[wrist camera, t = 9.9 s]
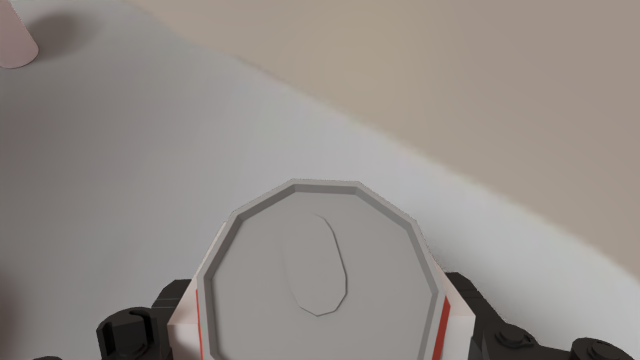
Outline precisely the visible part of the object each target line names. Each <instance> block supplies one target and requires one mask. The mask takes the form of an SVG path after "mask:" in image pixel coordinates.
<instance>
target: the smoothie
mask: <svg viewBox="0 0 640 360" xmlns="http://www.w3.org/2000/svg"><path fill="white" fill-rule="evenodd" d="M38 52H39V48H38V46H37V44H36V43H35V41H34V40H33V38H32V37H31V35H30V33H29V32H28V30H27V29H26V27H25V26H24V24H23V22H22V21H21V19H20V18H19V16H18V15H17V13H16V11H15V10H14V8H13V7H12V5H11V4H10V2H9V1H8V0H0V67H3V68H17V67H21V66H24V65H26V64H28V63H30V62H31V61H32V60H33V59H35V57H36V56H37V55H38Z"/></svg>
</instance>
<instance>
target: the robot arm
mask: <svg viewBox="0 0 640 360" xmlns="http://www.w3.org/2000/svg"><path fill="white" fill-rule="evenodd" d="M226 223H227V222H224V223H223V225H222V227H221V228H220V230H219V232H218V234H217V236H216V237H215V239H214V241H213V243H212V245H211V246H210V248H209V250H208V252H207V254H206V255H205V257H204V259H203V261H202V263H201V264H200V266H199V268H198V270H197V272H196V273H195V275H194V277H193V279H184V280H174V281H173V282H172V283H170V284H169V285H167V286H166V287H165V288H163V290H162V291H161V293H160V294H159V296H158V297H157V300H155V302H154V303H153V305H152V306H151V309H150V308H146V307H134V308H128V309H125V310H121V311H119V312H117V313H115V314H113V315H111V316H109V317H108V318H106V319H105V320H104V321H103V322H101V323H100V325H99V326H98V328H97V330H96V333H97V338H98V342H99V347H100V352H101V357H102V360H201V354H200V341H199V328H198V314H197V301H196V289H197V278H196V276H197V275H198V273H199V271H200V269H201V268H202V266H203V264H204V262H205V260H206V259H207V257H208V255H209V253H210V252H211V250H212V248H213V246H214V244H215V243H216V241H217V239H218V237H219V236H220V234H221V232H222V230H223V228H224V227H225V225H226ZM431 257H432V256H431ZM432 259H433V257H432ZM433 261H434V264H435V266H436V268H437V271H438V273H439V275H440V278H441V280H442V283H443V285H444V287H445V290H446V296H447V299H448V301H449V303H450V306H451V307H450V312H449V317H448V322H447V327H446V332H445V337H444V342H443V347H442V352H441V356H440V360H634V359H633V358H632V357H631V356H629V355H628V354H627V353H625V352H624V351H623V350H621V349H619V348H617V347H615V346H613V345H612V344H610V343H607V342H605V341H602V340H598V339H592V338H578V339H576V340H575V341H574V342H573V343H572V347H571V351H570V352H569V351H564V350H559V349H554V348H549V347H544V346H541V345H539V344H538V343H537V341H536V340H535V338H534V337H533V336H532V335H530V334H529V333H528V332H527V331H525V330H523V329H521V328H519V327H517V326H515V325H512V324H508V323H505V322H504V321H503V320H502V319H501V317H500V316H499V315H498V314H497V313H496V311H495V310H494V309H493V308H492V307H491V305H490V304H489V303H488V302H487V301H486V299H484V298H483V296H482V295H481V293H480V292H479V291H477V289H476V287H475V286H474V285H473V284H472V283H471V281H470V280H468V279H467V278H465V277H464V276H462V275H461V274H459V273H458V272H451V273H444V272H443V271H442V269H441V268H440V267H439V265H438V264H437V263H436V261H435V260H434V259H433ZM33 360H62V359H60V358H59V357H54V356H46V357H41V358H36V359H33Z"/></svg>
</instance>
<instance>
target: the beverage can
mask: <svg viewBox="0 0 640 360" xmlns="http://www.w3.org/2000/svg"><path fill="white" fill-rule="evenodd" d="M196 278H197V289H196V301H197V314H198V328H199V341H200V354H201V360H440V356H441V352H442V347H443V342H444V337H445V332H446V327H447V322H448V317H449V312H450V307H451V306H450V303H449V301H448V299H447V296H446V290H445V287H444V285H443V283H442V280H441V278H440V275H439V273H438V271H437V268H436V266H435V264H434V261H433V259H432V257H431V254H430V252H429V250H428V247H427V245H426V242H425V240H424V238H423V235H422V233H421V231H420V228H419V226H418V224H417V221H416V220H415V219H413V218H412V217H410V216H409V215H407V214H406V213H404V212H403V211H401V210H400V209H398V208H397V207H396V206H394V205H393V204H391V203H390V202H388V201H387V200H385V199H384V198H382V197H381V196H379V195H378V194H376V193H375V192H373V191H372V190H371V189H369V188H368V187H366V186H365V185H363V184H362V183H360V182H358V181H335V180H312V179H291V180H289V181H287V182H286V183H284V184H282V185H280V186H278V187H277V188H275V189H273V190H271V191H269V192H268V193H266V194H264V195H262V196H260V197H258V198H257V199H255V200H253V201H251V202H249V203H248V204H246V205H244V206H242V207H240V208H239V209H237V210H235V211H233V212H232V214H231V216H230V218H229V220H228V221H227V223H226V225H225V227H224V228H223V230H222V232H221V234H220V236H219V237H218V239H217V241H216V243H215V244H214V246H213V248H212V250H211V252H210V253H209V255H208V257H207V259H206V260H205V262H204V264H203V266H202V268H201V269H200V271H199V273H198V275H197V276H196Z"/></svg>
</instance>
